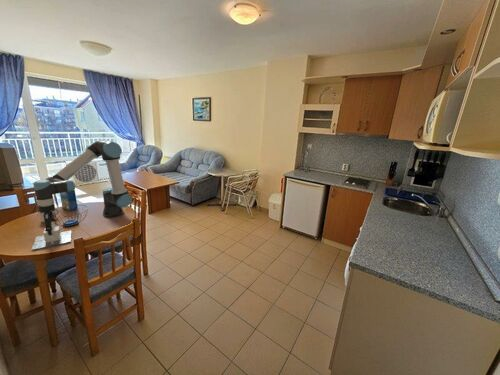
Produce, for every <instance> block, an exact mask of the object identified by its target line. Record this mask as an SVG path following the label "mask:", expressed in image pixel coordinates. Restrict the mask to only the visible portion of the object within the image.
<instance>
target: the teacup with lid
mask: <svg viewBox="0 0 500 375" xmlns="http://www.w3.org/2000/svg"><path fill="white" fill-rule="evenodd" d="M52 212H53V216H54V219H55V220H57V219H58V218H57V215H59V209H57V208H55V210H53V211H52ZM43 214H44V212H39V216H40V220H41V222H42V223H45V220H44V216H43Z"/></svg>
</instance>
